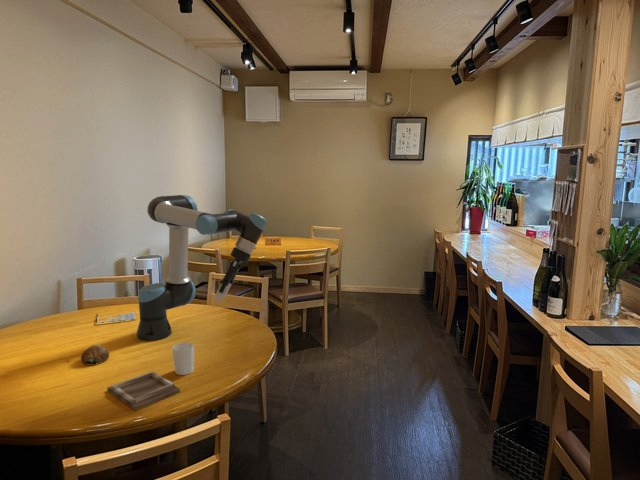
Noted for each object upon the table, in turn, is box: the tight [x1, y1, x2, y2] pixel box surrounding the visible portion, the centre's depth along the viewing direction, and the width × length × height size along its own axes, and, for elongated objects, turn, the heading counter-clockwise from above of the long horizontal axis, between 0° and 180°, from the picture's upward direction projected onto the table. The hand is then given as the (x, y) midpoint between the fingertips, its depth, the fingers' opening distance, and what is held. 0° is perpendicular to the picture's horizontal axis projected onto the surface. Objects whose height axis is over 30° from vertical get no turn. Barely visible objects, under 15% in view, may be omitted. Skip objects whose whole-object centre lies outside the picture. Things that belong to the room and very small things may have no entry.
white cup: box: [171, 342, 195, 376], centre depth 168 cm, size 8×8×10 cm
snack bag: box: [96, 311, 136, 323], centre depth 231 cm, size 19×20×2 cm
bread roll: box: [81, 344, 110, 365], centre depth 178 cm, size 10×10×8 cm
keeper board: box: [106, 370, 181, 411], centre depth 153 cm, size 20×16×2 cm
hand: (219, 298), depth 175 cm, fingers open, 13 cm apart
